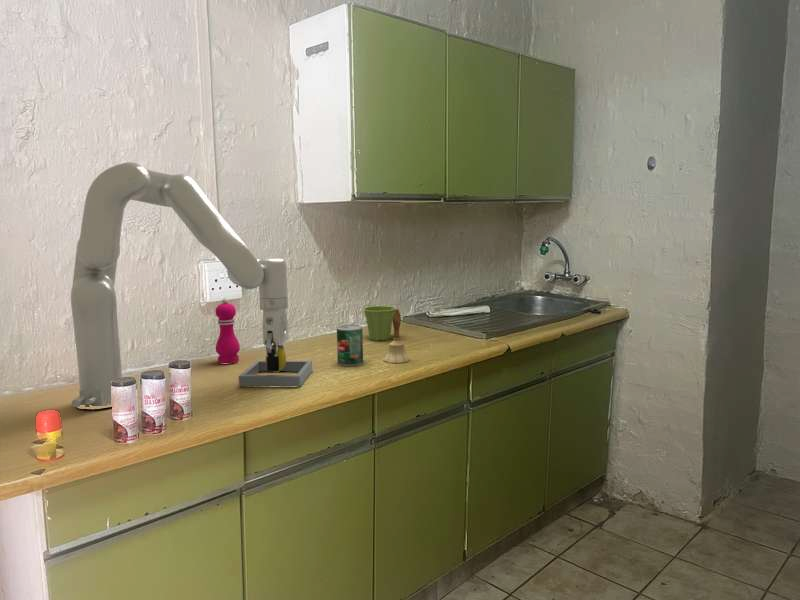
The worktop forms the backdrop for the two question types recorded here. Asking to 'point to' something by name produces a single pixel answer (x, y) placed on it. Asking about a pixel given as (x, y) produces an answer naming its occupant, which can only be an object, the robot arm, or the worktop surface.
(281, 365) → the lemon
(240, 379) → the box
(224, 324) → the pepper mill
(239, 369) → the worktop surface
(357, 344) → the canned tomato
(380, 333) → the plant pot
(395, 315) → the hand bell
